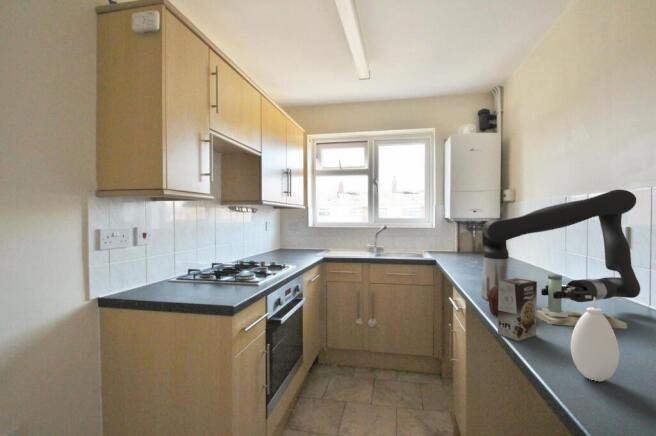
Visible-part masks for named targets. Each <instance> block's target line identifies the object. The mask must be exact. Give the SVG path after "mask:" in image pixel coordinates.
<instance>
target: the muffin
mask: <svg viewBox="0 0 656 436" xmlns="http://www.w3.org/2000/svg"><path fill="white" fill-rule="evenodd" d="M487 296H488V300H487V301H488V307H489V312H491V313H490V314H491V315H493V316H495V315H496V316H495V317H498V296H499V285H498V286H495V287H493V288H491V289H490V290H489V291H488V293H487Z"/></svg>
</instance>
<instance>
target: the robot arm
mask: <svg viewBox="0 0 656 436" xmlns="http://www.w3.org/2000/svg"><path fill="white" fill-rule="evenodd" d="M636 204H637V197H636V195H635V194H634V193H633V192H630V191H629V190H627V189H612V190H610V191H609V190H608V191H607V192H605V193H602V194H599V195H596V196H591V197H588V198H585V199H579V200H574V201H570V202H569V201H567V202H564V203H559V204H554V205H549V206H546V207H541V208H539V209H537V210H534V211H531V212H529V213H527V214H524V215H521V216H517V217H512V218H505V219H504V218H503V219H490V220H488V221H486V222H485V223H484V224H483V227H482V231H481V235H482V236H481V237H482V238H481V239H482V241H481V245H482V247H481V248H482V251H483V252H482V253H483V263H482V264H483V270H482V271H483V273H482V274H481V297H482V298H484V300H485V301H486V300H487V301H488V296H487V293H488V291H489V290H490V289H491V288H493V287H495V286H498V285H499V281H500V280H507V279H509V264H510V263H509V260H510V259H509V255H510V254H509V250H508V247H507V241H508V240H509V241H510V240H512V239H515V238H517V237H521V236H523V235H527V234H528V235H529V234H535V233H536V234H537V233H543V232H547V231H552V230H558V229H562V228H566V227H569V226H572V225H575V224H578V223H581V222H583V221H587V220H589V219H592V218H595V217H598V220H599V223H600V229H601V233H602V238H603V246H604V264H605V268H606V269H607V270H609V271H613V272H617V273H618V274H619V276H620V277H615V276H614V277H613V276H611V277H607V276H606V277H601V278H596V279H595V278H593V279H592V278H585V279H574V280H573V279H572V280H570V281H568V283H567V284H562V291H557V292H554V293H553V298H555V299H561V300H562V299H565V300H570V301H573V302H576V303H586V302H587V303H588V302H593V300H594V297H595V299H596V302H597V301H599V300H600V301H601V300H607V299H608V300H609V299H612V298H614V297H615V298H627V299H628V298H629V299H633V298H637V297H638V296H639V295H640V294H641V285H640V283H639V280H638V278H637V276H636V274H635V271H634V268H633V265H632V257H631V256H632V255H631V247H630V245H629V242H628V239H627V238H626V236H625V234H624V231H623V227H622V217H623V214H626V213H627V212H628V213H629V212H630V211H632V209H633V208H634V207H635V206H636ZM540 293H541V295H542V296H544V297H545V296H548V284H547V285H545V288H542V289H541V292H540Z"/></svg>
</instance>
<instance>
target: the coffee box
mask: <svg viewBox="0 0 656 436" xmlns="http://www.w3.org/2000/svg"><path fill="white" fill-rule="evenodd" d="M537 284H538V281H535V280H531V279H525V278H518V277H515V278H508V279H507V280H500V281H499V296H498V316H497V334H498V335H499V336H504V337H506V338H507V339H511V340H513V341H516V342H520V341H523V340H526V339H529V338H532V337H537V316H536V310H537V308H538V307H537V306H538V305H537V299H538V298H537V297H538V295H537V294H538V292H537V291H538V289H537V288H538V285H537Z"/></svg>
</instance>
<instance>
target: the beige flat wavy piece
mask: <svg viewBox="0 0 656 436" xmlns="http://www.w3.org/2000/svg"><path fill="white" fill-rule="evenodd" d="M562 311H563V310H562ZM563 312H565V313H567V314H568V317H557V316H550V315H548V314H547V313H545V312H543V311H542V309H541V310H540V309H536V318H539V319H540V318H541V319H540V320H541V321H543V320H544V321H543V322H545V323H546V322H547V324H548V325H552V324H556V325H557V326H572V327H573V326H574V327H575V326H576V324H577V322H578V320H579V319H580V317H581V316H582V315H583V314H584V313H586V312H587V311H584V312H583V311H581V312H580V311H563ZM602 314H603V315H604V316H605V318H606V319H607V320H608V322H609V323H610V325H611V327H612V329H628V323H627V322H625V321H621V320H620V319H617V318H616V317H613V316H610V315H609V314H606V313H604V312H603V313H602Z"/></svg>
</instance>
